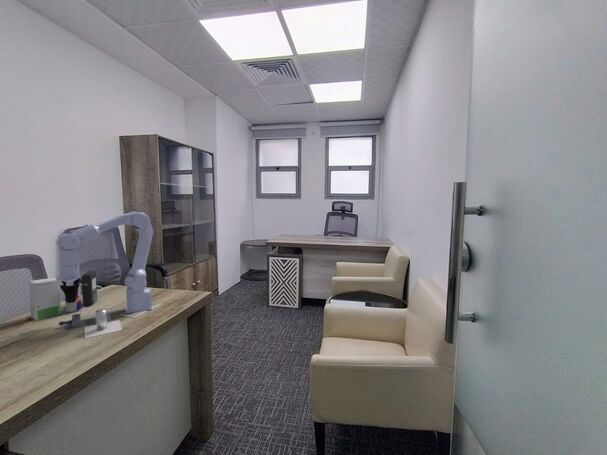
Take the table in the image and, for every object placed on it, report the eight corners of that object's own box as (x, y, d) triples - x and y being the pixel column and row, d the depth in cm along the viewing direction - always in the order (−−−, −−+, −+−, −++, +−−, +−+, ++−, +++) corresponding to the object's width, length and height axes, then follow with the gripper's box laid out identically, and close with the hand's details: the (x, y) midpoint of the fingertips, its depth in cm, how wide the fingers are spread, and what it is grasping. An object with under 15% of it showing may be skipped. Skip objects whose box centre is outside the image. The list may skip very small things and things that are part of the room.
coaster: (119, 321, 113) (119, 320, 113) (122, 331, 105) (122, 329, 104) (84, 329, 106) (84, 327, 106) (84, 340, 98) (84, 338, 98)
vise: (109, 316, 119) (109, 308, 118) (111, 321, 113) (110, 313, 113) (59, 326, 109) (59, 317, 108) (58, 332, 103) (57, 323, 103)
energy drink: (72, 315, 119) (71, 287, 118) (62, 313, 120) (61, 286, 119) (84, 310, 125) (83, 284, 124) (75, 309, 126) (73, 283, 125)
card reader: (92, 306, 129) (91, 274, 128) (82, 307, 127) (80, 275, 126) (98, 300, 137) (97, 270, 136) (88, 301, 136) (87, 271, 135)
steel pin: (107, 326, 107) (106, 308, 107) (107, 329, 105) (106, 310, 104) (97, 328, 106) (95, 310, 105) (96, 331, 103) (95, 312, 102)
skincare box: (35, 321, 112) (33, 283, 111) (30, 317, 116) (27, 281, 115) (62, 314, 120) (59, 279, 118) (56, 311, 123) (53, 276, 122)
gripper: (56, 263, 110) (59, 296, 112) (54, 270, 99) (56, 307, 100) (79, 261, 115) (81, 293, 116) (79, 267, 103) (81, 303, 105)
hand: (71, 299), depth 108 cm, fingers open, 7 cm apart
